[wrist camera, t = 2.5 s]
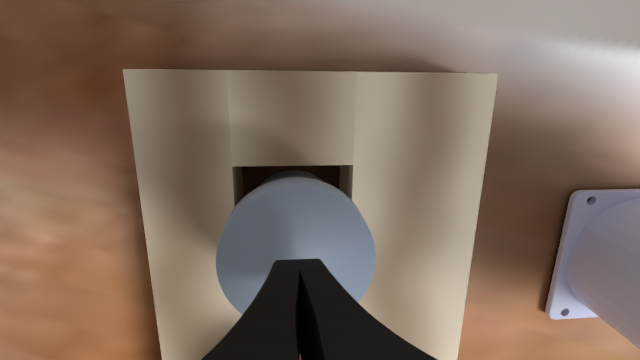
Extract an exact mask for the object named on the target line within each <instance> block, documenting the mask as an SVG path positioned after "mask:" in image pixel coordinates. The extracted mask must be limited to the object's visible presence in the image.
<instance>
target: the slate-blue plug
mask: <svg viewBox="0 0 640 360" xmlns="http://www.w3.org/2000/svg"><path fill="white" fill-rule="evenodd" d="M316 258H319V259H320V260H321V261H322V262H323V263H324V264H325V266H326V267H327V268H328V270H329V271H330V272H331V273H332V275H333V276H334V277H335V278H336V280H337V281H338V282H339V283H340V284H341V285H342V286H343V288H344V289H345V290H346V291H347V292H348V293H349V294H350V295H351V296H352V297H353V298H354V299H355V300H356V301H357V302H359V301H360V300H361V298H362V297H363V296H364V294H365V293H366V291H367V289H368V287H369V285H370V283H371V281H372V278H373V274H374V271H375V263H376V250H375V244H374V240H373V237H372V234H371V232H370V230H369V228H368V225H367V224H366V222H365V220H364V218H363V216H362V214H361V213H360V211H359V209H358V208H357V206H356V205H355V204H354V202H353V201H352V200H351V199H350V198H349V197H348V196H347V195H345V194H344V193H343V192H342V191H340V190H339V189H337V188H336V187H334V186H332V185H330V184H328V183H326V182H323V181H322V180H321V179H320V178H318V177H317V176H315V175H313V174H311V173H308V172H305V171H300V170H287V171H282V172H279V173H276V174H274V175H272V176H270V177H269V178H267V179H266V180H265V181H263V182H262V183H261V184H260V186H259V187H257V188H256V189H254V190H253V191H251V192H250V193H248V194H247V195H246V196H245V197H244V198H243V199H241V201H240V202H239V203H238V204H237V205H236V206H235V208H234V209H233V211H232V212H231V214H230V215H229V217H228V220H227V222H226V224H225V227H224V229H223V232H222V235H221V238H220V241H219V244H218V247H217V253H216V271H217V277H218V280H219V284H220V286H221V289H222V291H223V293H224V295H225V296H226V298H227V299H228V301H229V302H230V303H231V304H232V305H233V307H234V308H235V309H236V310H237V311H239V312H240V313H241V314H242V315H243V313H244V312H245V311H246V309H247V308H248V307H249V305H250V304H251V303H252V301H253V300H254V298H255V297H256V295H257V293H258V292H259V290H260V289H261V287H262V285H263V284H264V282H265V280H266V278H267V276H268V274H269V272H270V270H271V268H272V265H273V263H274V262H275V261H276V260H290V259H316Z"/></svg>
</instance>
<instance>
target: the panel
mask: <svg viewBox="0 0 640 360" xmlns="http://www.w3.org/2000/svg"><path fill="white" fill-rule="evenodd" d="M123 75H124V83H125V90H126V98H127V105H128V112H129V120H130V127H131V135H132V142H133V149H134V157H135V164H136V171H137V179H138V186H139V194H140V201H141V208H142V216H143V223H144V231H145V238H146V245H147V253H148V260H149V268H150V275H151V282H152V290H153V297H154V305H155V312H156V319H157V327H158V334H159V342H160V349H161V356H162V360H201V359H202V358H203V357H204V356H205V355H206V354H207V353H208V352H209V351H211V350H212V349H213V348H214V347H215V346H216V345H217V344H218V343H219V342H220V341H221V339H222V338H223V337H224V336H225V335H226V334H227V333H228V332H229V331H230V330H231V328H232V327H233V326H234V325H235V324H236V322H237V321H238V320H239V319H240V317H241V316H242V314H241V313H240V312H239V311H237V310H236V309H235V308H234V307H233V305H232V304H231V303H230V302H229V301H228V299H227V298H226V296H225V295H224V293H223V291H222V289H221V286H220V284H219V280H218V277H217V271H216V253H217V247H218V244H219V241H220V238H221V235H222V232H223V229H224V227H225V224H226V222H227V220H228V217H229V215H230V214H231V212H232V211H233V209H234V208H235V206H236V205H237V204H238V203H239V202H240V201H241V199H243V198H244V189H243V169H242V166H312V165H340V176H339V190H340V191H342V192H343V193H344V194H345V195H347V196H348V197H349V198H350V199H351V200H352V201H353V202H354V204H355V205H356V206H357V208H358V209H359V211H360V213H361V214H362V216H363V218H364V220H365V222H366V224H367V225H368V228H369V230H370V232H371V234H372V237H373V240H374V244H375V250H376V263H375V271H374V274H373V278H372V281H371V283H370V285H369V287H368V289H367V291H366V293H365V294H364V296H363V297H362V298H361V300H360V301H359V302H358V303H359V304H360V305H361V306H362V307H363V308H364V309H365V310H366V311H367V312H368V313H369V314H371V315H372V316H373V317H374V318H375V319H377V320H378V321H379V322H381V323H382V324H383V325H385V326H386V327H387V328H389V329H390V330H391V331H393V332H394V333H395V334H397V335H398V336H400V337H401V338H403V339H404V340H406V341H407V342H409V343H410V344H412V345H414V346H415V347H417V348H419V349H420V350H422V351H424V352H425V353H427V354H429V355H430V356H432V357H434V358H436V359H438V360H457V357H458V350H459V343H460V336H461V329H462V322H463V315H464V308H465V301H466V294H467V288H468V281H469V274H470V267H471V260H472V253H473V246H474V239H475V232H476V225H477V219H478V212H479V205H480V198H481V191H482V184H483V177H484V170H485V163H486V157H487V150H488V143H489V136H490V129H491V122H492V115H493V108H494V101H495V94H496V88H497V81H498V74H492V73H446V72H363V71H280V70H197V69H123Z"/></svg>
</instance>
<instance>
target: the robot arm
mask: <svg viewBox="0 0 640 360" xmlns="http://www.w3.org/2000/svg"><path fill="white" fill-rule="evenodd" d="M589 197H590V200H589V201H588V202H587V200H588V198H589ZM563 309H564V310H563ZM562 310H563V311H562ZM545 313H546V314H547V315H548V316H549V317H550V318H551V319H572V318H590V317H600V318H601V319H602V320H603V321H605V322H606V323H607V324H609V325H610V326H611V327H612V328H614V329H615V330H616V331H617V332H619V333H620V334H621V335H623V336H624V337H625V338H626V339H628V340H629V341H630V342H631V343H633V344H634V345H635V346H637V347H638V348H639V349H640V189H606V190H578V191H575V192H574V193H573V194H572V195H571V197H570V199H569V204H568V208H567V213H566V217H565V222H564V226H563V231H562V236H561V240H560V245H559V249H558V254H557V258H556V263H555V268H554V272H553V277H552V281H551V286H550V290H549V295H548V300H547V304H546V309H545ZM300 356H301V360H438V359H436V358H434V357H432V356H430V355H429V354H427V353H425V352H424V351H422V350H420V349H419V348H417V347H415V346H414V345H412V344H410V343H409V342H407V341H406V340H404V339H403V338H401V337H400V336H398V335H397V334H395V333H394V332H393V331H391V330H390V329H389V328H387V327H386V326H385V325H383V324H382V323H381V322H379V321H378V320H377V319H375V318H374V317H373V316H372V315H371V314H369V313H368V312H367V311H366V310H365V309H364V308H363V307H362V306H361V305H360V304H359V303H358V302H357V301H356V300H355V299H354V298H353V297H352V296H351V295H350V294H349V293H348V292H347V291H346V290H345V289H344V288H343V286H342V285H341V284H340V283H339V282H338V281H337V280H336V278H335V277H334V276H333V275H332V273H331V272H330V271H329V270H328V268H327V267H326V266H325V264H324V263H323V262H322V261H321V260H320V259H319V258H316V259H290V260H276V261H275V262H274V263H273V265H272V268H271V270H270V272H269V274H268V276H267V278H266V280H265V282H264V284H263V285H262V287H261V289H260V290H259V292H258V293H257V295H256V297H255V298H254V300H253V301H252V303H251V304H250V305H249V307H248V308H247V309H246V311H245V312H244V313H243V315H242V316H241V317H240V319H239V320H238V321H237V322H236V324H235V325H234V326H233V327H232V328H231V330H230V331H229V332H228V333H227V334H226V335H225V336H224V337H223V338H222V339H221V341H220V342H219V343H218V344H217V345H216V346H215V347H214V348H213V349H212V350H211V351H209V352H208V353H207V354H206V355H205V356H204V357H203V358H202V359H201V360H300Z"/></svg>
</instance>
